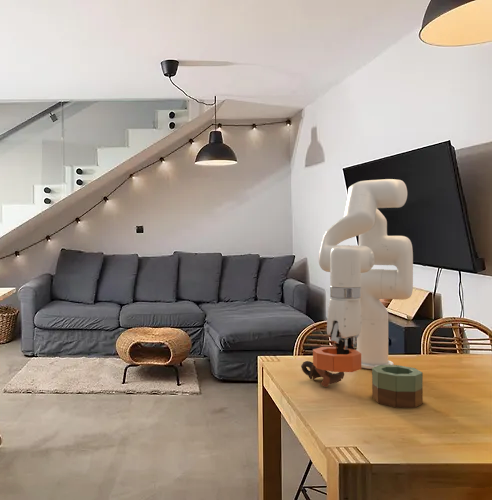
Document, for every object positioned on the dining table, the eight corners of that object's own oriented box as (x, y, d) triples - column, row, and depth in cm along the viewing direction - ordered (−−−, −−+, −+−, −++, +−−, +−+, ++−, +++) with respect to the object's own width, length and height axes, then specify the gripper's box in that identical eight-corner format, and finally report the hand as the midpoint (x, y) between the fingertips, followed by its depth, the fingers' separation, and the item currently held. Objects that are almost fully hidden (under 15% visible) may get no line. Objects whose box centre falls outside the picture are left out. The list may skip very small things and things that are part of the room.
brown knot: (340, 380, 160) (347, 360, 155) (337, 402, 152) (345, 381, 148) (299, 367, 163) (306, 347, 159) (295, 388, 156) (301, 368, 151)
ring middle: (366, 385, 139) (365, 370, 139) (385, 377, 146) (385, 362, 146) (409, 394, 131) (409, 378, 131) (428, 385, 138) (428, 370, 138)
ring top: (306, 366, 139) (305, 351, 139) (328, 359, 146) (328, 345, 146) (345, 374, 130) (345, 358, 130) (367, 366, 137) (367, 351, 137)
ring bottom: (366, 400, 139) (366, 385, 139) (385, 391, 146) (385, 377, 146) (409, 410, 131) (409, 394, 131) (428, 401, 138) (428, 385, 138)
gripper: (347, 290, 148) (347, 356, 149) (315, 295, 138) (316, 365, 139) (373, 292, 143) (374, 360, 143) (342, 297, 132) (343, 370, 133)
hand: (345, 362), depth 141 cm, fingers closed on ring top, 2 cm apart
